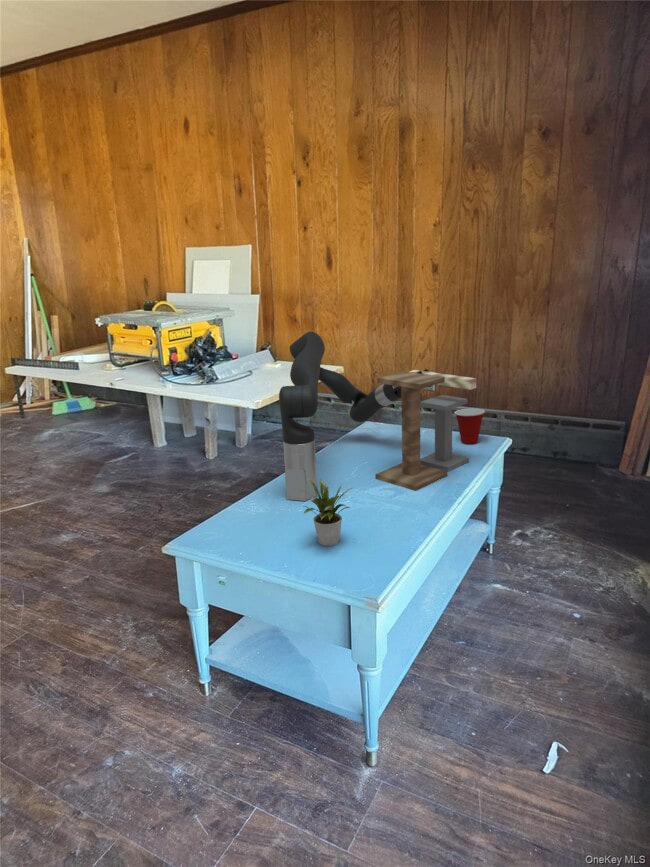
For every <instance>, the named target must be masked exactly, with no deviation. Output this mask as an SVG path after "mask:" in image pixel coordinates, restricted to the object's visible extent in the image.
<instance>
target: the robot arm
mask: <svg viewBox="0 0 650 867" xmlns="http://www.w3.org/2000/svg"><path fill="white" fill-rule="evenodd" d="M325 349H326V347H325V343H324V341H323V338H322V337H321V336H320V334H319V333H316V332H315V331H307V332H306V333H304V334H303V335H302V336H300V337H299V338H298V339H296V340H295V341H294V342H293V343H291V344H290V346H289V352H290V354H291V356H292V358H293V359H294V360H293V361H292V364H291V369H290V372H289V378H290V381H291V383H292V384H293V385H285V386H282V387H281V388H280V390H279V394H278V404H279V411H280V419H281V428H282V429H281V431H282V444H283V458H284V459H283V460H284V461H283V462H284V476H285V478H284V479H285V490H286V499H287V500H291V501H292V500H293V501H301V502H305V501H308V500H312V499H311V497H312V498H314V499H315V498H317V497H318V495H317V494H316V492H315V490H314V487H313V485H312V484H311V482H310V481H309V480H311V481H312V482H314V484H315V485H316V487H317V488H318V477H317V476H318V474H317V457H316V441H315V438H316V437H315V431H314V429H313V428H312V427H310V426H307V425H304V424H301V423H299V422H297V421H296V420H295V419H298V418H299V419H301V418H305V419H306V418H311V417H314V416H315V415H316V413H317V410H318V406H319V404H318V402H319V398H318V396H319V395H318V394H319V393H318V388H319V387H318V386H319V381H320V382H321V383H323V385H324V386H325V387H327V388H328V389H329V390H330V391H331V392H333V394H334V395H335V396H336V397H337V398H338V399H339V401H341V402H342V403H343V404H349V403H351V402H352V401H353V403H352V405H351V408H350V410H349V416H350V419H351V420H352V421H354V422H356V423H363V422H365V421H368V420H369V419H371V418H372V417H373V416H374V415H375V414H376V413H377V412H378V411H379V410H381V409H383V408H385V407H387V406H388V405H389V406H390V405H392V404H394V403H396V402H398V401H399V400H401V386H395V385H388V384H382V383H381V385H379V386H378V387H377V388H375V389H373V390H372V391H370V392H369V393H368V394H366V393H365V392H363V391H362V390H360V389H358V388H357V387H355V386H354V385H353V383H351V381H349V379H348V378H347V377H346V376H345V375H344V374H341V373H339V372H337V371H334V370H330V369H328V368H327V369H326V368H323V367H321V366H322V365H321V364H322V360H323V356H324V354H325V351H326V350H325ZM422 371H426V372H430V370H429V369H428V368H425V369H423V370H419V371H418V372H417V373H418V374H422ZM306 478H307V479H306ZM308 479H309V480H308ZM304 490H305V491H304ZM306 491H307V492H306ZM304 492H305V493H304ZM308 492H309V493H308ZM308 494H309V495H308Z"/></svg>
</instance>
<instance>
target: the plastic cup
mask: <svg viewBox="0 0 650 867" xmlns="http://www.w3.org/2000/svg"><path fill="white" fill-rule="evenodd" d="M485 411H486V410H485V409H482V408H481V409H480V408H463V409H458V410H456V411H454V416H455V417H456V420H457V425H458V432H459V437H460V442H461V444H464V445H476V444H478V441H479V436H480V434H481V426H482V422H483V417H484V414H485V413H486V412H485Z"/></svg>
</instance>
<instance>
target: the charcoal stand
mask: <svg viewBox="0 0 650 867" xmlns="http://www.w3.org/2000/svg"><path fill="white" fill-rule="evenodd" d="M468 402H469V401H468V398H464V397H459V396H458V397H456V396H451V395H445V394H441V395H438V396H435V397H431V398H428V399H425V400H420V408H428V409H432V410H434V452H433V453H431V454H428V455H425V456H424V457H422V458H421V457H420V464H421V465H425V466H429V467H433V468H436V469H440V470H444V471H449V472H451V471H453V470H454V469H458V468H459V467H461V466H464V465H466V464H469V463H470V457H467V456H464V455H458V454H454V453H453V410H454V409H456V408H459V407H461V406H464V405H468ZM450 470H451V471H450Z"/></svg>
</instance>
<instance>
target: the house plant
mask: <svg viewBox="0 0 650 867" xmlns="http://www.w3.org/2000/svg"><path fill="white" fill-rule="evenodd" d="M306 479H307V478H306ZM308 480H309V479H308ZM309 481H310V482H311V484H312V485H313V487H314V490H315V492H316V494H317V497H314V498H312V497H311V499H310V502H311V503H313V504H315V506H316V507H317V508H318V509H316V508H314V507H311V508H310V507H308V506H306V505H303V508H304V507H305V508H306V509H305V510H304V512H303V515H305V514H307V513H308V512H313V513H314V514H316V515H314V517H313V518H312V519H313V524H314V528H315V532H316V536H317V540H318V544H319V545H322V546H325V547H330V546H332V547H333V546H335V545H337V544H339V542H340V536H341V530H342V520H343V517H342V515H341V514H340V512H342V511H343V510H345V509H351V507H350V506H347V505H346V504H344V503H343V504H341V503H340V504H337V503H338V501H340V499H341V498H342V497H343V496H344V495H345V494H346V493H347V492H349V491H350V490H353V489H354V487H349V488H348V489H346V490H345V491H344V492H343V493H342V494H341V495H339V494H340V491H341V489H342V486H343V483H341V485H340V486H339V488H338V489H337V492H336V494H335V495H334V496H332V497H330V495H329V485H330V483H331V481H329V482H328V485H327V484H326V483H325V481H322V479H319V486H320V487H319V489H320V490H319V489H318V486H317V487H316V485H315V484H314V482H312V481H311V480H309ZM304 491H305V490H304ZM319 491H320V492H319ZM306 492H307V491H306ZM304 493H305V492H304ZM308 493H309V492H308ZM308 495H309V494H308ZM343 506H345V507H343ZM340 507H343V508H341V509H340V510H339V508H340ZM314 510H316V511H317V512H319V513H317V512H315V511H314ZM338 510H339V511H338ZM337 511H338V513H336V512H337Z"/></svg>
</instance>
